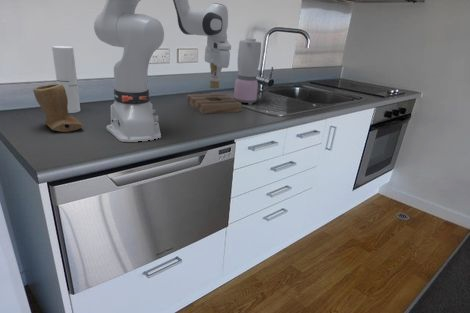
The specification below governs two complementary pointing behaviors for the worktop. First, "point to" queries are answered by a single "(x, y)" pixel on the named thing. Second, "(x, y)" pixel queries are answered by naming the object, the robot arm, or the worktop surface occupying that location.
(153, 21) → the robot arm
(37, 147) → the worktop surface
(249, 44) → the blender
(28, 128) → the worktop surface
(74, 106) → the cylindrical container
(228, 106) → the socket block
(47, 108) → the tan boot vase
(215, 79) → the sprinkles bottle
